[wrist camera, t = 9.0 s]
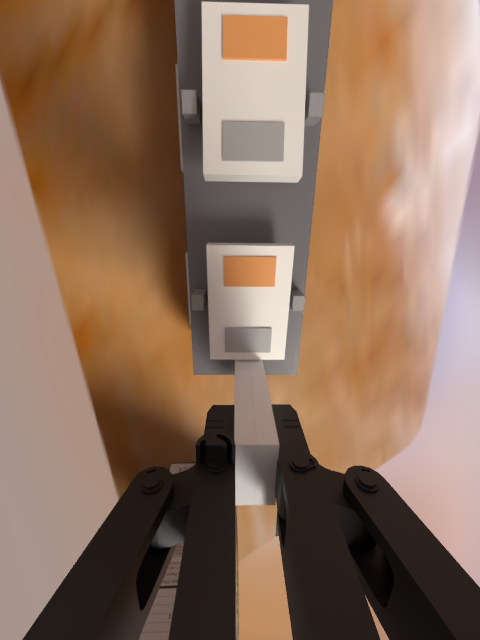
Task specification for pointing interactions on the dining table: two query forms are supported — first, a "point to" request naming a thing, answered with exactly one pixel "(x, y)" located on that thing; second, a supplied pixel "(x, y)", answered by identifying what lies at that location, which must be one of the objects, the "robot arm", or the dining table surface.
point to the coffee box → (162, 608)
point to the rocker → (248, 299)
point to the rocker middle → (253, 91)
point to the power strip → (245, 186)
